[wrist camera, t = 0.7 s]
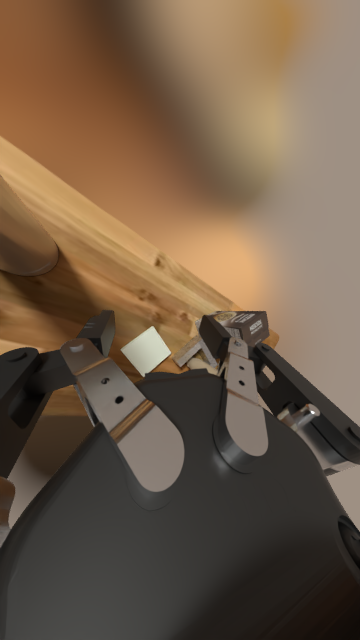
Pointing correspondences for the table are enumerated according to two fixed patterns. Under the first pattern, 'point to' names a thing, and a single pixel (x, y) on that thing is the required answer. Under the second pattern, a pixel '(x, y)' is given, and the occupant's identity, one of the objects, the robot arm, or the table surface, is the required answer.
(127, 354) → the pad
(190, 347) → the clamp
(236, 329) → the coffee box
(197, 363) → the handle
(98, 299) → the table surface
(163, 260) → the table surface
